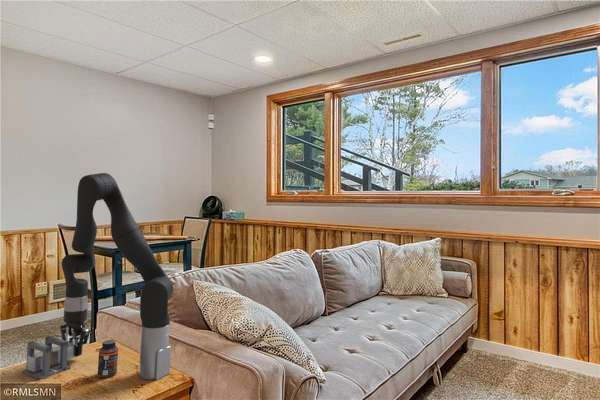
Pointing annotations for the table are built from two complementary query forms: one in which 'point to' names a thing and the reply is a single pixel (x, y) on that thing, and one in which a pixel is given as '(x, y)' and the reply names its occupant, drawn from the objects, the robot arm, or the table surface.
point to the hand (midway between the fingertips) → (73, 354)
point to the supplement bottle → (108, 359)
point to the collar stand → (48, 358)
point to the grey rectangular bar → (36, 359)
